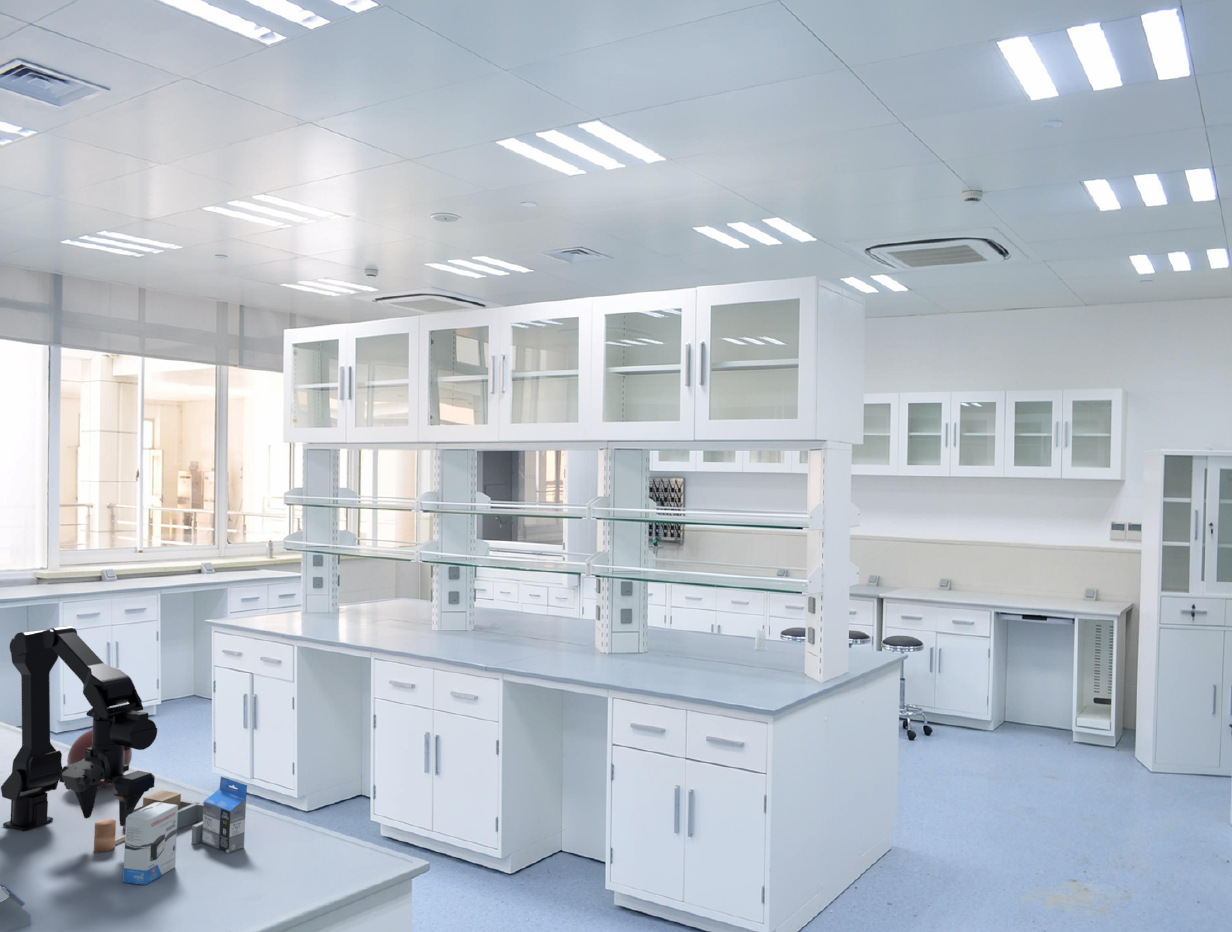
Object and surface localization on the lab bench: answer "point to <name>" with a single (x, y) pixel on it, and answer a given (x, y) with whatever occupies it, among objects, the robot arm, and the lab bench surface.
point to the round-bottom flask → (80, 747)
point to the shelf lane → (187, 818)
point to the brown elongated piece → (107, 827)
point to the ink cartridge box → (225, 817)
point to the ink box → (150, 843)
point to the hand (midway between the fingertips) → (105, 821)
